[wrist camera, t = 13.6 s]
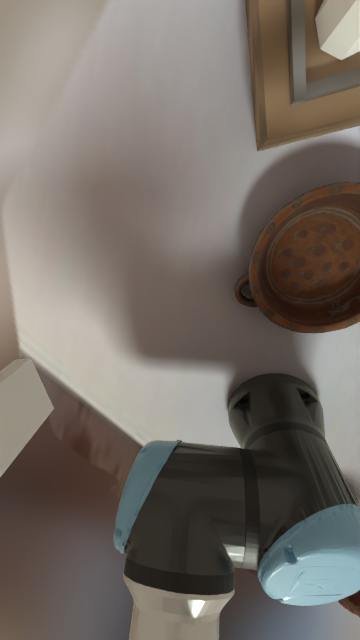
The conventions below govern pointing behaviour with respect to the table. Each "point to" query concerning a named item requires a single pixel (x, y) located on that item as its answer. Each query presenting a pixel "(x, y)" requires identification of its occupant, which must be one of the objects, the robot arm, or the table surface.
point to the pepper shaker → (339, 27)
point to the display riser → (297, 75)
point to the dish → (309, 262)
